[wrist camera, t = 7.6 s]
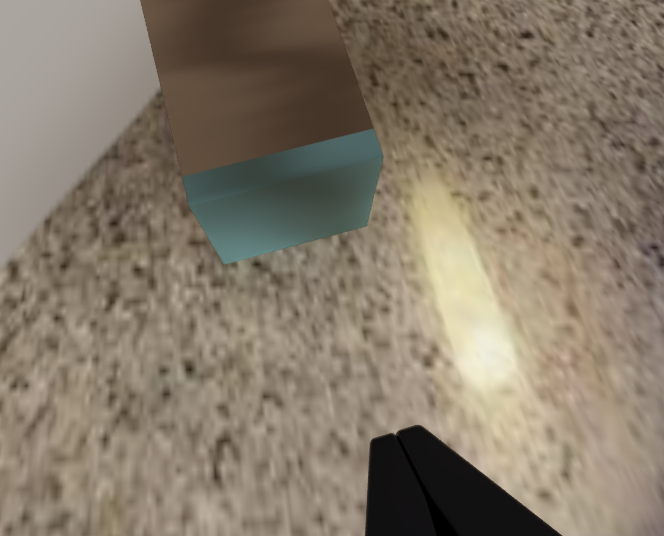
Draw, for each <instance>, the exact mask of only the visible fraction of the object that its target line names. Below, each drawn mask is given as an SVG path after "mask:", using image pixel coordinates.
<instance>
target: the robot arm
mask: <svg viewBox="0 0 664 536" xmlns="http://www.w3.org/2000/svg"><path fill="white" fill-rule="evenodd" d="M365 536H562V535H561V534H560V533H558V532H557V531H556V530H554V529H553V528H552V527H551V526H549V525H548V524H547V523H545V522H544V521H543V520H542V519H540V518H539V517H538V516H537V515H535V514H534V513H533V512H531V511H530V510H529V509H528V508H526V507H525V506H524V505H523V504H521V503H520V502H519V501H517V500H516V499H515V498H514V497H512V496H511V495H510V494H508V493H507V492H506V491H505V490H503V489H502V488H501V487H500V486H498V485H497V484H496V483H494V482H493V481H492V480H491V479H489V478H488V477H487V476H485V475H484V474H483V473H482V472H480V471H479V470H478V469H477V468H475V467H474V466H473V465H471V464H470V463H469V462H468V461H466V460H465V459H464V458H462V457H461V456H460V455H459V454H457V453H456V452H455V451H454V450H452V449H451V448H450V447H448V446H447V445H446V444H445V443H443V442H442V441H441V440H439V439H438V438H437V437H436V436H434V435H433V434H432V433H431V432H429V431H428V430H427V429H425V428H424V427H423V426H421V425H414V426H411V427H408V428H405V429H402V430H399V431H398V432H397V433H396V435H395V434H394V433H389V434H386V435H382V436H379V437H376V438H373V439H372V440H371V442H370V452H369V471H368V490H367V509H366V527H365Z"/></svg>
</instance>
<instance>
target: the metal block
mask: <svg viewBox="0 0 664 536" xmlns="http://www.w3.org/2000/svg"><path fill="white" fill-rule="evenodd" d="M140 1H141V5H142V10H143V14H144V18H145V22H146V26H147V31H148V35H149V39H150V43H151V47H152V52H153V56H154V60H155V64H156V68H157V72H158V77H159V81H160V86H161V90H162V94H163V98H164V103H165V107H166V111H167V115H168V119H169V124H170V128H171V132H172V136H173V141H174V145H175V149H176V153H177V158H178V162H179V166H180V170H181V174H182V179H183V183H184V187H185V191H186V196H187V200H188V204H189V207H190V209H191V210H192V212H193V214H194V215H195V217H196V219H197V220H198V222H199V224H200V225H201V227H202V229H203V230H204V232H205V233H206V235H207V237H208V238H209V240H210V242H211V243H212V245H213V247H214V248H215V250H216V252H217V253H218V255H219V256H220V258H221V260H222V261H223V263H224V264H228V263H232V262H236V261H239V260H243V259H247V258H250V257H254V256H258V255H261V254H265V253H269V252H273V251H276V250H280V249H284V248H287V247H291V246H295V245H299V244H302V243H306V242H310V241H313V240H317V239H321V238H324V237H328V236H332V235H336V234H339V233H343V232H347V231H350V230H354V229H358V228H361V227H365V226H367V222H368V218H369V214H370V210H371V206H372V202H373V198H374V194H375V190H376V185H377V181H378V177H379V173H380V169H381V165H382V161H383V157H384V156H383V154H382V151H381V148H380V145H379V142H378V140H377V137H376V134H375V131H374V128H373V125H372V123H371V120H370V117H369V114H368V111H367V108H366V106H365V103H364V100H363V97H362V94H361V91H360V89H359V86H358V83H357V80H356V77H355V74H354V72H353V69H352V66H351V63H350V60H349V58H348V55H347V52H346V49H345V46H344V43H343V41H342V38H341V35H340V32H339V29H338V26H337V24H336V21H335V18H334V15H333V12H332V9H331V7H330V4H329V1H328V0H140Z"/></svg>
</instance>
